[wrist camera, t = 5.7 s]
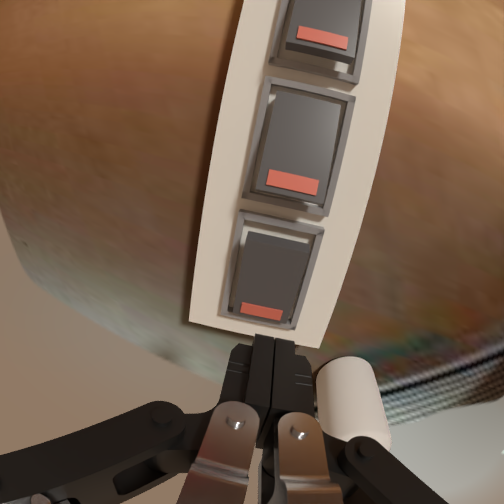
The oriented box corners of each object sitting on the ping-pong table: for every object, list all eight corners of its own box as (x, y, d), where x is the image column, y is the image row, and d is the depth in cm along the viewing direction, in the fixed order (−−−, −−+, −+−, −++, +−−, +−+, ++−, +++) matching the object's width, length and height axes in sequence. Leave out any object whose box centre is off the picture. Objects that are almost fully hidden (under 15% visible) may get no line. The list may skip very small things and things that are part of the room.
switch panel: (396, -6, 18) (410, -22, 15) (316, 329, 30) (319, 353, 27) (261, -37, 19) (257, -58, 15) (196, 304, 31) (186, 325, 27)
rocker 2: (337, 111, 20) (341, 104, 19) (320, 205, 21) (323, 203, 20) (276, 97, 21) (277, 89, 19) (255, 191, 21) (255, 188, 20)
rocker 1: (359, -7, 16) (363, -16, 15) (350, 64, 18) (355, 57, 16) (300, -21, 16) (302, -31, 15) (285, 49, 18) (285, 40, 16)
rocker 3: (309, 244, 22) (309, 254, 21) (286, 314, 26) (286, 325, 25) (248, 230, 22) (245, 240, 21) (235, 303, 26) (232, 314, 25)
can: (314, 397, 34) (319, 483, 23) (316, 356, 32) (324, 449, 21) (368, 392, 33) (386, 475, 22) (375, 351, 31) (403, 439, 20)
